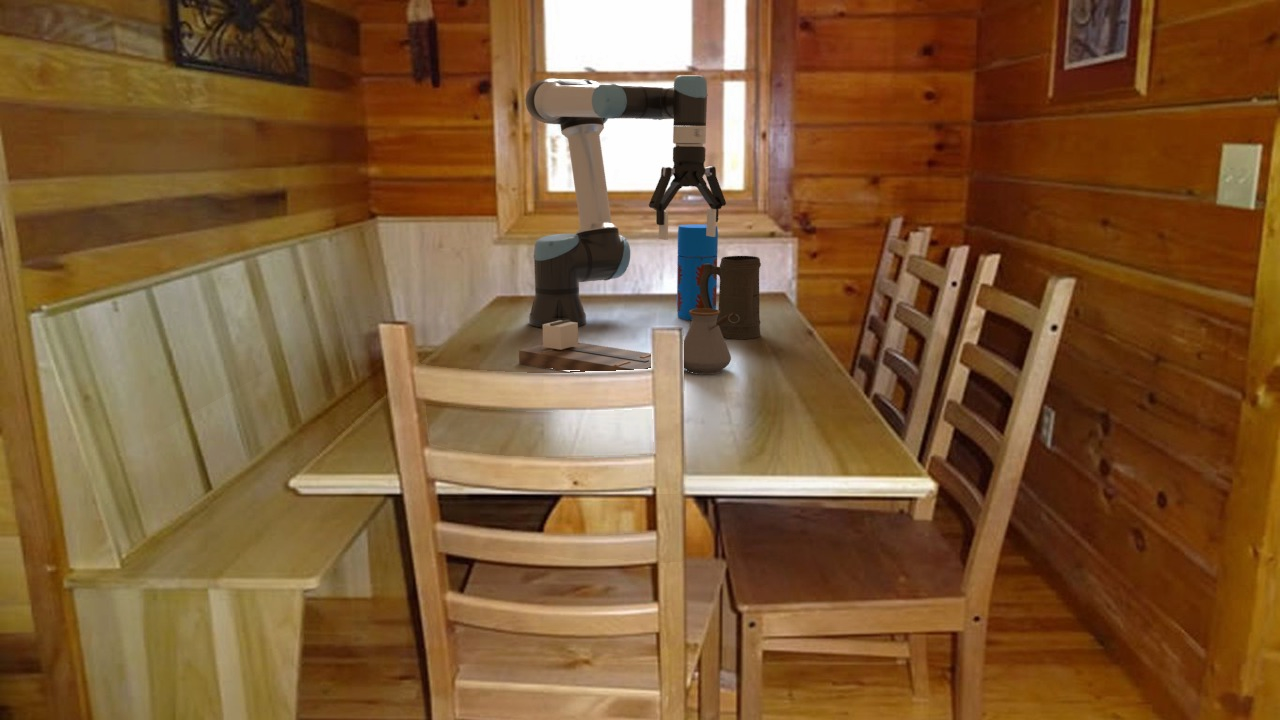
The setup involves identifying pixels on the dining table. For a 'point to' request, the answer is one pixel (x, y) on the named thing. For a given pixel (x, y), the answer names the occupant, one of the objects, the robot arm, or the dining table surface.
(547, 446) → the dining table surface
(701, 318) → the coffee pot
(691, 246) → the thermos
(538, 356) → the fader panel
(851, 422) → the dining table surface
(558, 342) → the fader knob
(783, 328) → the dining table surface
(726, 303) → the beer stein
